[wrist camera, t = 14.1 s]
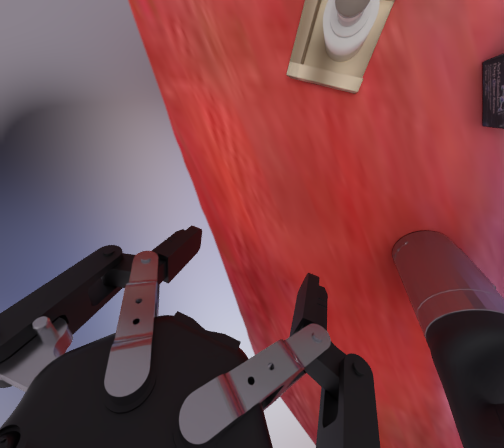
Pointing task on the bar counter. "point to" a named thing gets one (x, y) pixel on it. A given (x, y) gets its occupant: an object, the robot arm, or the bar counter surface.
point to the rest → (316, 58)
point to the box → (493, 92)
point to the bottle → (347, 26)
